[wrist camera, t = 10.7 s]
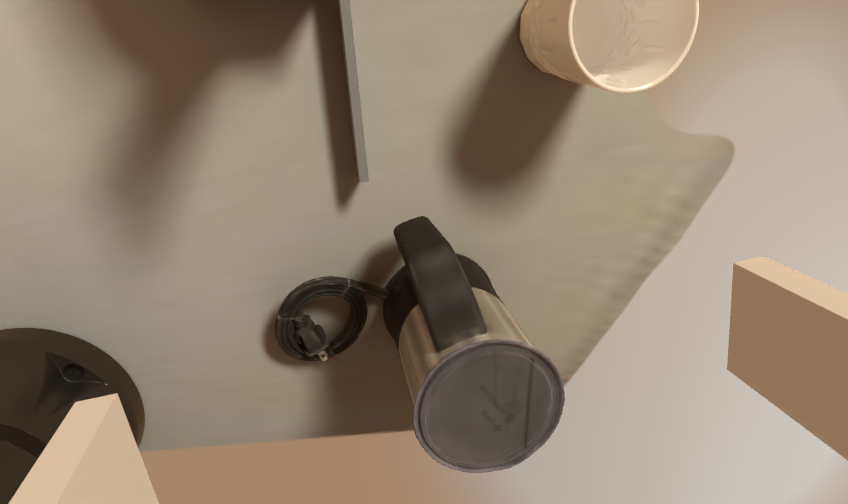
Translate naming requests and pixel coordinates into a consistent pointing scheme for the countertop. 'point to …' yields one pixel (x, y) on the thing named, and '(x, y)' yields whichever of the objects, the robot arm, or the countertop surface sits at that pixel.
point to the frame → (353, 88)
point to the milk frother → (445, 353)
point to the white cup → (609, 40)
